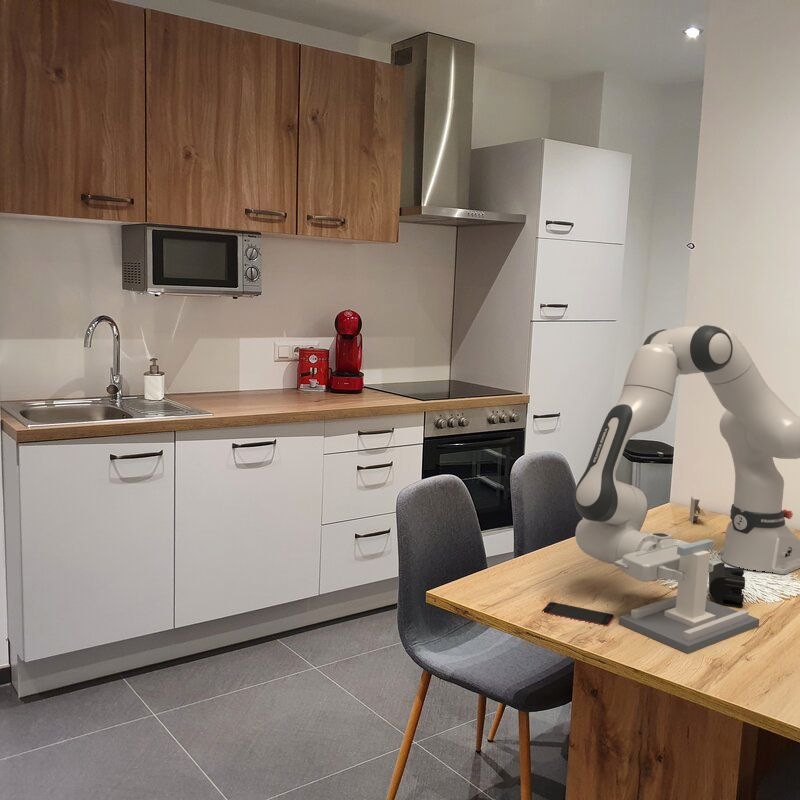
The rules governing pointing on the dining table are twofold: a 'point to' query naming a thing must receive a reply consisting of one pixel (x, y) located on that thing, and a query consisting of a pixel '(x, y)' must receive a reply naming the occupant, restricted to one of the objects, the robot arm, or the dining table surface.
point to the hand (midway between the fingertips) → (697, 572)
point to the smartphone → (578, 613)
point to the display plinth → (684, 636)
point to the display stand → (693, 585)
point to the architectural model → (695, 510)
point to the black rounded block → (727, 585)
